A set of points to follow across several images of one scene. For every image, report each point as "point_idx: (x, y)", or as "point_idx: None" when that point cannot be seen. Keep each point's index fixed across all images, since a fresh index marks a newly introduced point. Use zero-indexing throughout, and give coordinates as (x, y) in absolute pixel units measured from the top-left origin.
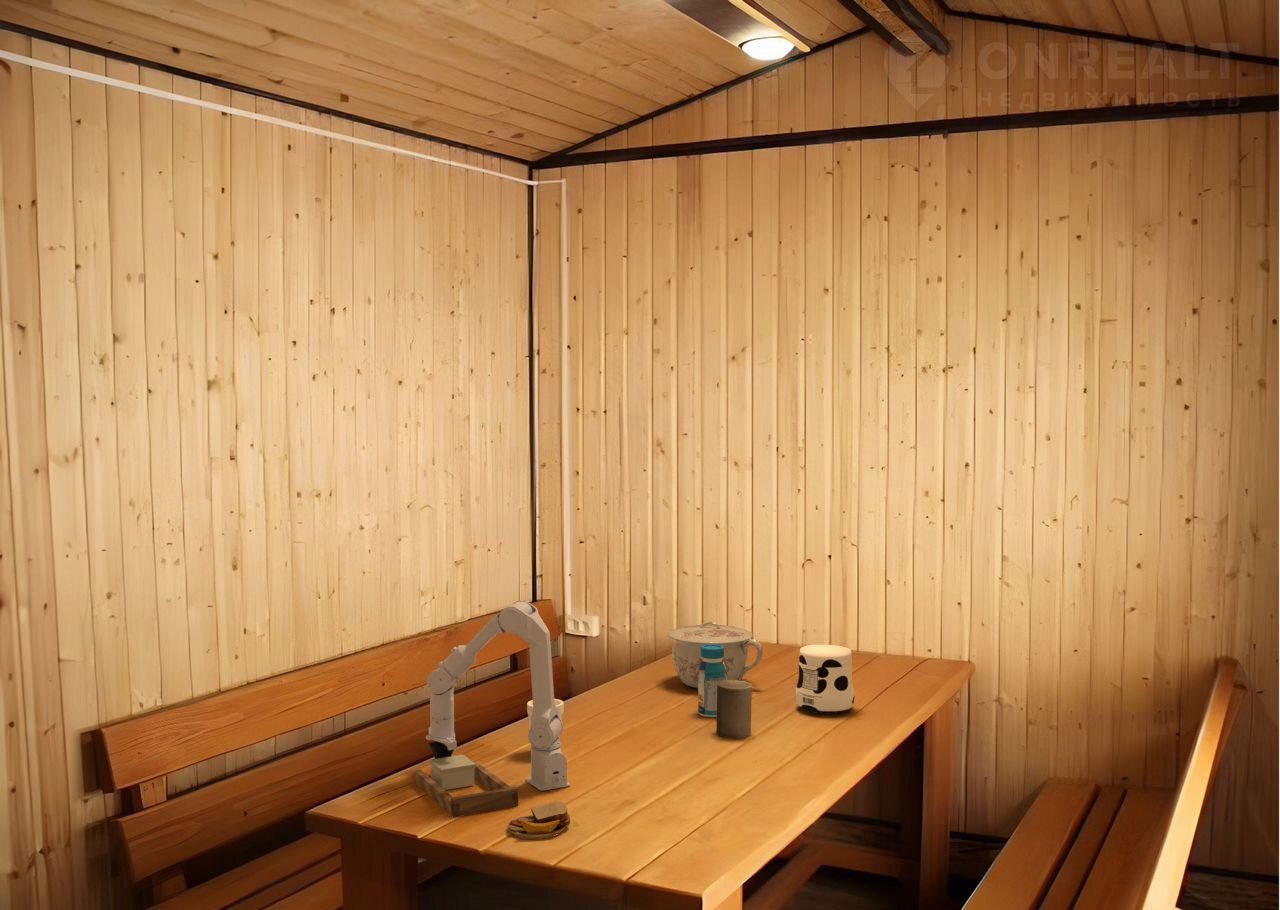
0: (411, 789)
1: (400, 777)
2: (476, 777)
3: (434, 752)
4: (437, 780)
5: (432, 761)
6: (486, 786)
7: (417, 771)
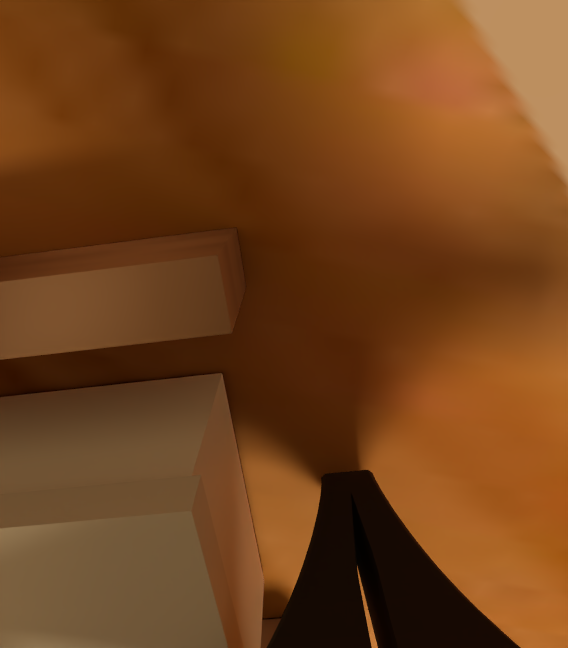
0: (42, 154)
1: (474, 117)
2: None
3: (395, 638)
4: (24, 421)
5: (94, 531)
6: None
7: (162, 282)
